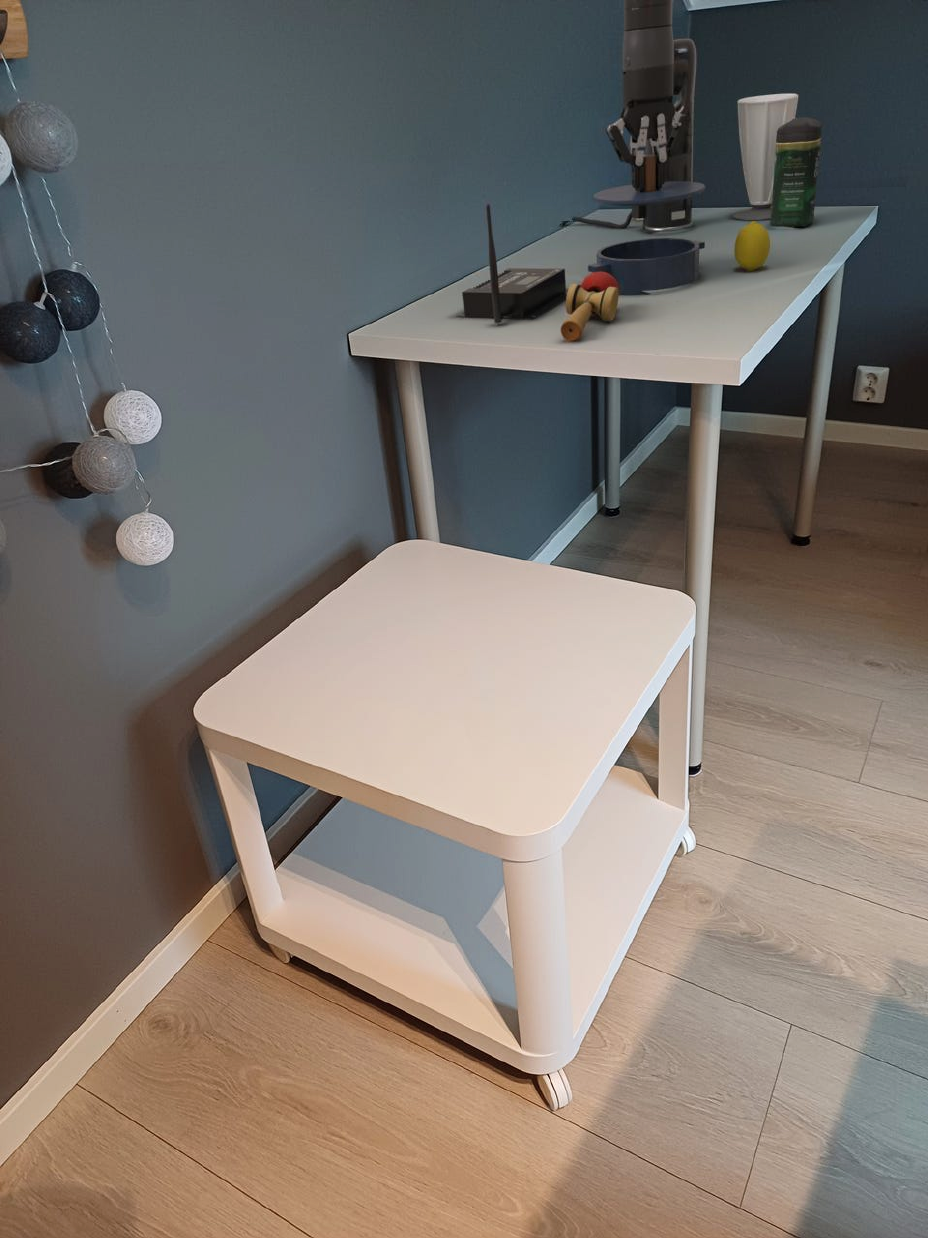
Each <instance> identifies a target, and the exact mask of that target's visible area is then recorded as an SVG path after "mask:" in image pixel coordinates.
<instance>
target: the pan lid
mask: <svg viewBox="0 0 928 1238" xmlns="http://www.w3.org/2000/svg"><path fill="white" fill-rule="evenodd" d="M642 166H644V191H642V192H637V191H635V188H633V186H632V184H627V185H621V186H615V187H611V188H607V189H603V190H601V191H598V192H596V193H594V194H593V201H594V202H596V203H600V204H606V205H609V206H614V207H615V206H616V207H632V206H642V205H654V204H662V203H669V202H674V201H679V200H683V199H686V198H689V197H691V196H692V197H693V196H697V195H699V194H702V193H704V191H705V190H706V185H705V184H703V183H701V182H697V181H693V182H687V181H668V182H665V183H664V184H662V188H661V189H656V155H645V154H644V156H643V163H642Z"/></svg>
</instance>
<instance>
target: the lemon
mask: <svg viewBox="0 0 928 1238" xmlns="http://www.w3.org/2000/svg"><path fill="white" fill-rule="evenodd" d="M770 250H771V240H770V234H769V232H768V230H767V229H766V227H764V226H763V225H762V224H760V223H757V220H751V221H750V222H749V224H745V225H744V226H743V227H742V228H741V229H740V231H738V233H737V235H736V238H735V242H734V249H733V251H734V259H735V261H736V263H737V265H738V266H739V267H740V268H742V269H744V270H746V271H748V272H753V271H756V270H757V269H758V268H761V267H762V266H763V265H764V264H765V263H766V262H767V260H768V257H769V255H770V252H771V251H770Z"/></svg>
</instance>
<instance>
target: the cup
mask: <svg viewBox="0 0 928 1238" xmlns="http://www.w3.org/2000/svg"><path fill="white" fill-rule="evenodd" d="M798 103H799V94H797V93H775V94H774V93H773V94H765V95H764V94H763V95H756V96H747V97H744V98H740V99H738V100H737V119H738V120H737V121H738V133H739V134H738V137H739V146H740V153H741V163H742V169H743V176H744V182H745V188H746V192H747V196H748V201H749V204H750V206H751V209H748V210H742V211H739V212H736V213H734V214H733V215H732V218H733V219H735V220H739V221H766V220H767V221H768V220H771V207H772V195H773V180H774V166H775V150H776V136H777V130H778V128H779V127H781V126H782V125H784V124H786V123H788V122H790V121H791V120H792V119H795V118H796V113H797V107H798Z"/></svg>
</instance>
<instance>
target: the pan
mask: <svg viewBox="0 0 928 1238" xmlns="http://www.w3.org/2000/svg"><path fill="white" fill-rule="evenodd" d="M705 244H706V241H701V240H692V239H685V238H674V237H662V238H661V237H660V238H659V237H658V238H644V239H643V238H642V239H633V240H628V241H621V242H617V243H612V244H610V245H607V246H605V247H601V248H600V249H599V250H597V252H596V262H595V263H591V264H588V265H587V272H590V273H594V272H606V273H609V274H610V275H612V276H613V277H614V278H615V280H616V281H617V283H618V286H619V295H623V296H624V295H627V296H630V295H631V296H636V295H637V296H642V295H651V293H650V291H661V290H665V289H666V290H668V289H673V288H677V287H682V286H685V285H688V284H691V283H693V282H695V281H696V280H697V279H699V277H700V275H699V274H700V250H702V249H705V248H706V245H705Z"/></svg>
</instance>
